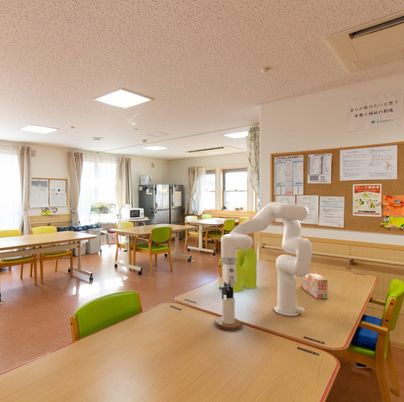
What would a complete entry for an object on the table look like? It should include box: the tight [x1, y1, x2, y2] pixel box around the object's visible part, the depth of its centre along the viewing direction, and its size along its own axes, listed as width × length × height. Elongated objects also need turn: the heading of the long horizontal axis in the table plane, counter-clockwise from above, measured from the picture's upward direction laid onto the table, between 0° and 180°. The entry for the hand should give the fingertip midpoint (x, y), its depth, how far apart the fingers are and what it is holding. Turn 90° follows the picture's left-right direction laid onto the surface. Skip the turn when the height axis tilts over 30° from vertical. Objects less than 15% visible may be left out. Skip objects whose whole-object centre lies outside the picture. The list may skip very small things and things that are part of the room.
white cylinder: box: [216, 284, 241, 329], centre depth 145 cm, size 12×12×19 cm
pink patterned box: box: [300, 273, 329, 300], centre depth 190 cm, size 21×6×12 cm, turn 179°
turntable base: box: [214, 319, 243, 332], centre depth 146 cm, size 13×13×1 cm
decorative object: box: [233, 246, 258, 293], centre depth 199 cm, size 20×7×30 cm, turn 118°
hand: (228, 295), depth 145 cm, fingers closed on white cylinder, 4 cm apart
